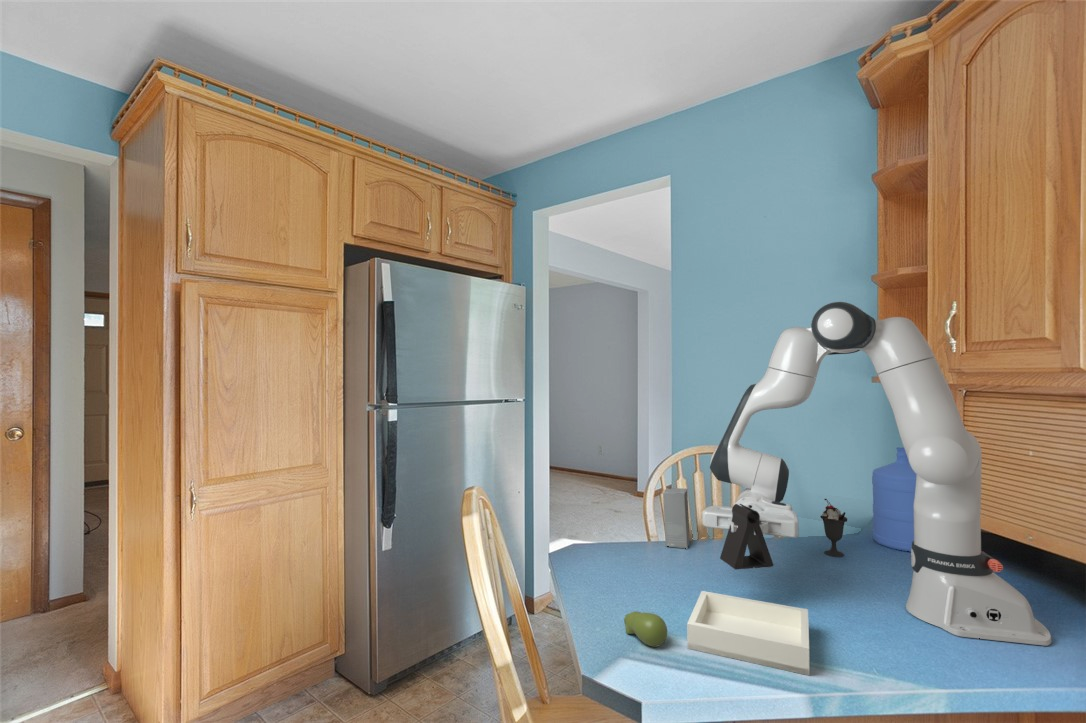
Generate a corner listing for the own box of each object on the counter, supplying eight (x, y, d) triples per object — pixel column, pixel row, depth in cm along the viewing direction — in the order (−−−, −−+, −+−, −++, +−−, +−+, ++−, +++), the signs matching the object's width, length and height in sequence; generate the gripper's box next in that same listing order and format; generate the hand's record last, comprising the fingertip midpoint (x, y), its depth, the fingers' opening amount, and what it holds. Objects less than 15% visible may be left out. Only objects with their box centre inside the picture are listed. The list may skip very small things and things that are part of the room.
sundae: (816, 549, 149) (815, 496, 150) (841, 550, 148) (840, 497, 149) (825, 557, 143) (824, 502, 143) (852, 558, 142) (851, 503, 142)
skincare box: (687, 549, 149) (687, 493, 150) (662, 546, 152) (662, 491, 152) (690, 540, 157) (690, 487, 158) (666, 538, 160) (666, 485, 160)
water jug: (950, 555, 144) (948, 453, 145) (887, 552, 147) (886, 451, 148) (920, 537, 160) (918, 445, 160) (863, 534, 163) (862, 444, 163)
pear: (647, 622, 95) (615, 609, 104) (651, 653, 94) (618, 638, 103) (671, 615, 98) (638, 603, 106) (675, 645, 97) (641, 631, 106)
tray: (808, 632, 102) (807, 609, 102) (809, 675, 88) (809, 648, 88) (701, 612, 111) (701, 590, 111) (687, 648, 96) (687, 623, 96)
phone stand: (734, 569, 110) (733, 511, 110) (719, 559, 116) (719, 504, 116) (773, 566, 111) (772, 509, 111) (757, 556, 117) (756, 502, 117)
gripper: (706, 496, 129) (695, 510, 117) (798, 505, 120) (797, 521, 108) (706, 522, 129) (696, 538, 117) (799, 533, 120) (798, 552, 108)
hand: (745, 530), depth 112 cm, fingers closed on phone stand, 3 cm apart
